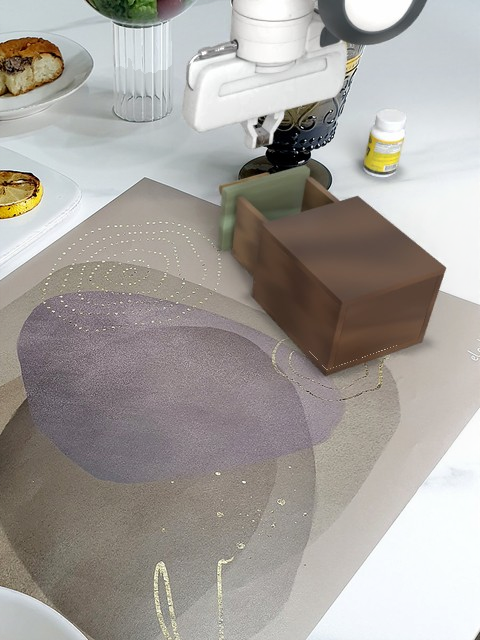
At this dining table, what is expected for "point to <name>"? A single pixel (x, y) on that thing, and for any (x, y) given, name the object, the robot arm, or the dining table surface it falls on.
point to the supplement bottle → (385, 143)
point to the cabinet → (345, 283)
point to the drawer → (264, 208)
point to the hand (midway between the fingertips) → (258, 145)
